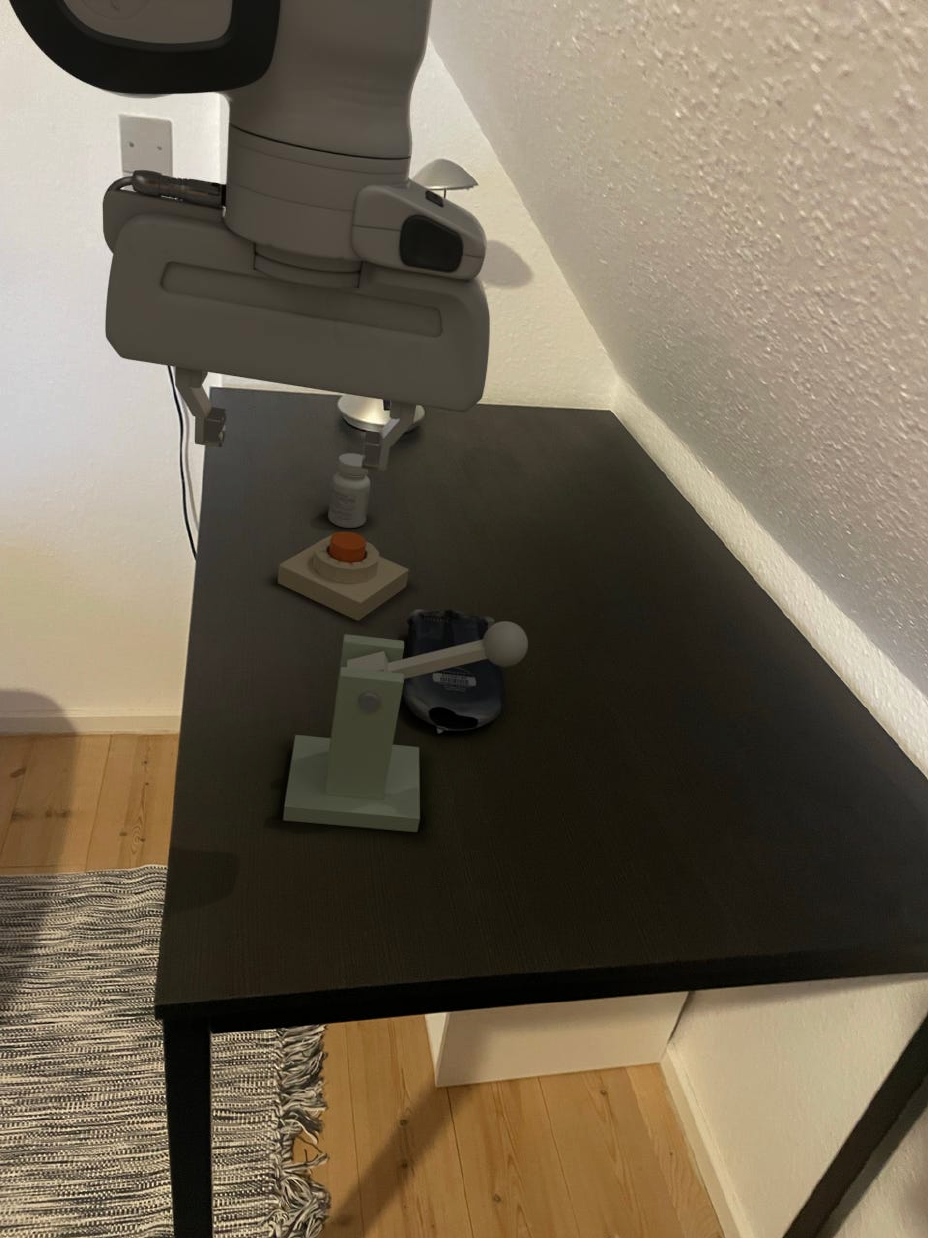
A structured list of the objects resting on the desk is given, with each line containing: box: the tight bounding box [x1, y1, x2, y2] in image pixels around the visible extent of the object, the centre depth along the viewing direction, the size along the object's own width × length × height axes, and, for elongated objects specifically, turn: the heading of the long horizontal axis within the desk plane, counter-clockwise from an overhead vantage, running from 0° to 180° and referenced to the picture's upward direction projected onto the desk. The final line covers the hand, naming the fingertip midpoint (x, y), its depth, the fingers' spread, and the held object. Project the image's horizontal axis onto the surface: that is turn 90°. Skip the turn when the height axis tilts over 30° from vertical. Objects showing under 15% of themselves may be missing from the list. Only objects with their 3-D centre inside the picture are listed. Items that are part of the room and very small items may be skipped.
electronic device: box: [402, 608, 506, 734], centre depth 86 cm, size 9×6×15 cm
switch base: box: [282, 633, 421, 833], centre depth 70 cm, size 10×8×13 cm
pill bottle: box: [327, 452, 371, 529], centre depth 108 cm, size 4×4×8 cm
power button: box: [329, 531, 367, 563], centre depth 96 cm, size 4×4×2 cm
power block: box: [277, 534, 410, 622], centre depth 97 cm, size 10×9×4 cm
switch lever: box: [347, 620, 529, 679], centre depth 67 cm, size 13×3×3 cm, turn 94°
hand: (292, 454), depth 55 cm, fingers open, 8 cm apart
